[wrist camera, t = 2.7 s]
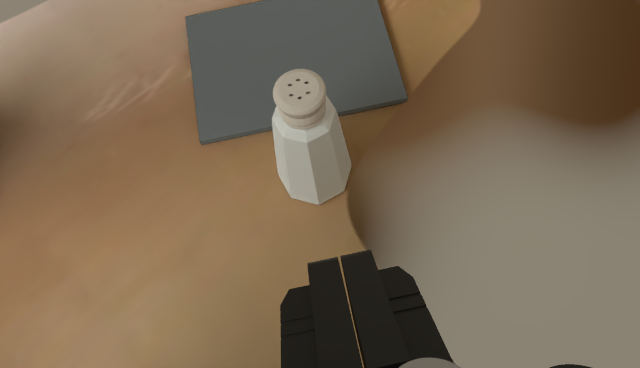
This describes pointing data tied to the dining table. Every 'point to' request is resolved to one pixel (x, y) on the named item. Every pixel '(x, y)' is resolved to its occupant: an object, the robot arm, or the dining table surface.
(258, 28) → the mat
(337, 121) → the pepper shaker
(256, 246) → the dining table surface
